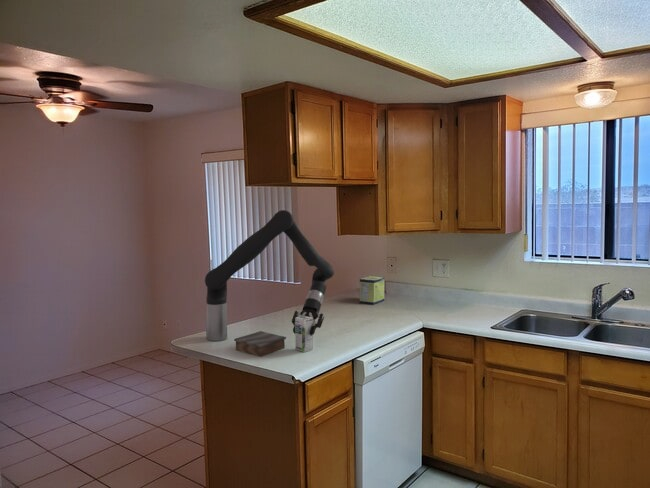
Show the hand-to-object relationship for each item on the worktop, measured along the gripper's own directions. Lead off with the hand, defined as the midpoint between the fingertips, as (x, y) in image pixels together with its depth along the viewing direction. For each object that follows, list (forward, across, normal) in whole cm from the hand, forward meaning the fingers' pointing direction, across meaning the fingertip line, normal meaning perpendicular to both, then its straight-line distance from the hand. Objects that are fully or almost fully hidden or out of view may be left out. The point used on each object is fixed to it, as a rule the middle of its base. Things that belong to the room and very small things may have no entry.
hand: (302, 333), depth 210 cm
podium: (+9, -18, +2) cm, 20 cm away
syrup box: (+4, 0, +6) cm, 8 cm away
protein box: (-72, -3, +83) cm, 109 cm away
